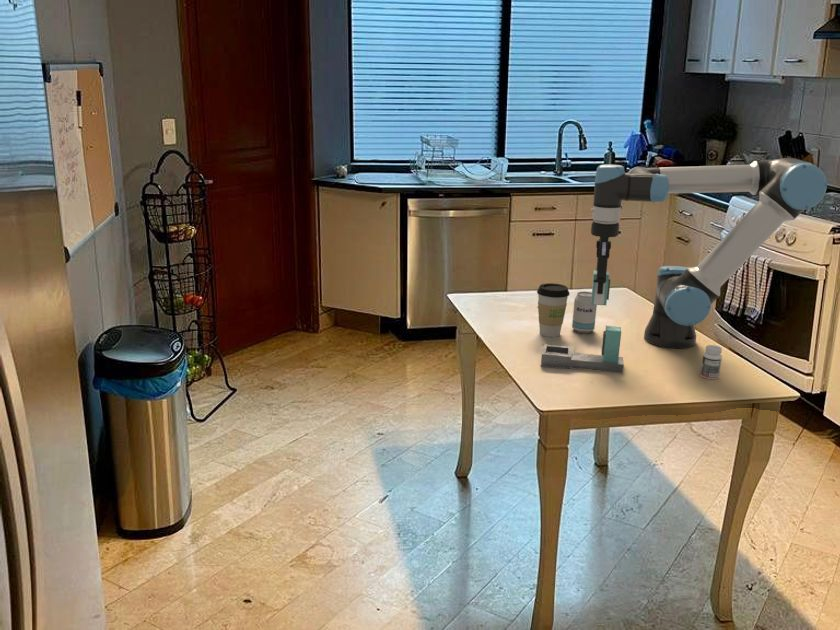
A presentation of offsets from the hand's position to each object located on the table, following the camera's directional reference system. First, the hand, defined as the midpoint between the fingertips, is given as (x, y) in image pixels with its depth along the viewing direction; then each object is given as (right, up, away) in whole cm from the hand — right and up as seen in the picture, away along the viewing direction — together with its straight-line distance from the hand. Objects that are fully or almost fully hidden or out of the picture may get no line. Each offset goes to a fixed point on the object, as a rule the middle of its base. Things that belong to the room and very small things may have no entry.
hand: (598, 301), depth 228 cm
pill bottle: (+27, -21, -13) cm, 36 cm away
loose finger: (0, 0, 0) cm, 0 cm away
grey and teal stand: (-7, -18, -8) cm, 21 cm away
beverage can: (0, -9, +21) cm, 23 cm away
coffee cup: (-11, -10, +17) cm, 23 cm away
